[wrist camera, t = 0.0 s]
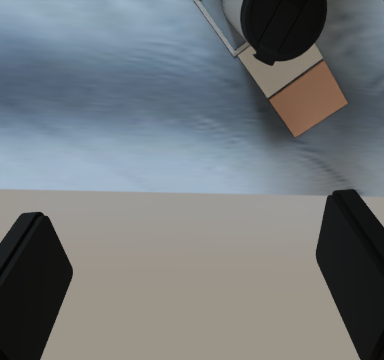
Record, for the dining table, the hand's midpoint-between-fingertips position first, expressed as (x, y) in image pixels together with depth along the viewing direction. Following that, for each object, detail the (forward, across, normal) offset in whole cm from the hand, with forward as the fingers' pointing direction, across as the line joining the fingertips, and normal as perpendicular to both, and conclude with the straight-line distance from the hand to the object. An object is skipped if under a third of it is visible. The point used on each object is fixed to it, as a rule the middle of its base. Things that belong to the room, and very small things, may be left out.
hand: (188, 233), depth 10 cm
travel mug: (+38, -8, -4) cm, 38 cm away
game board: (+37, -12, +3) cm, 39 cm away
